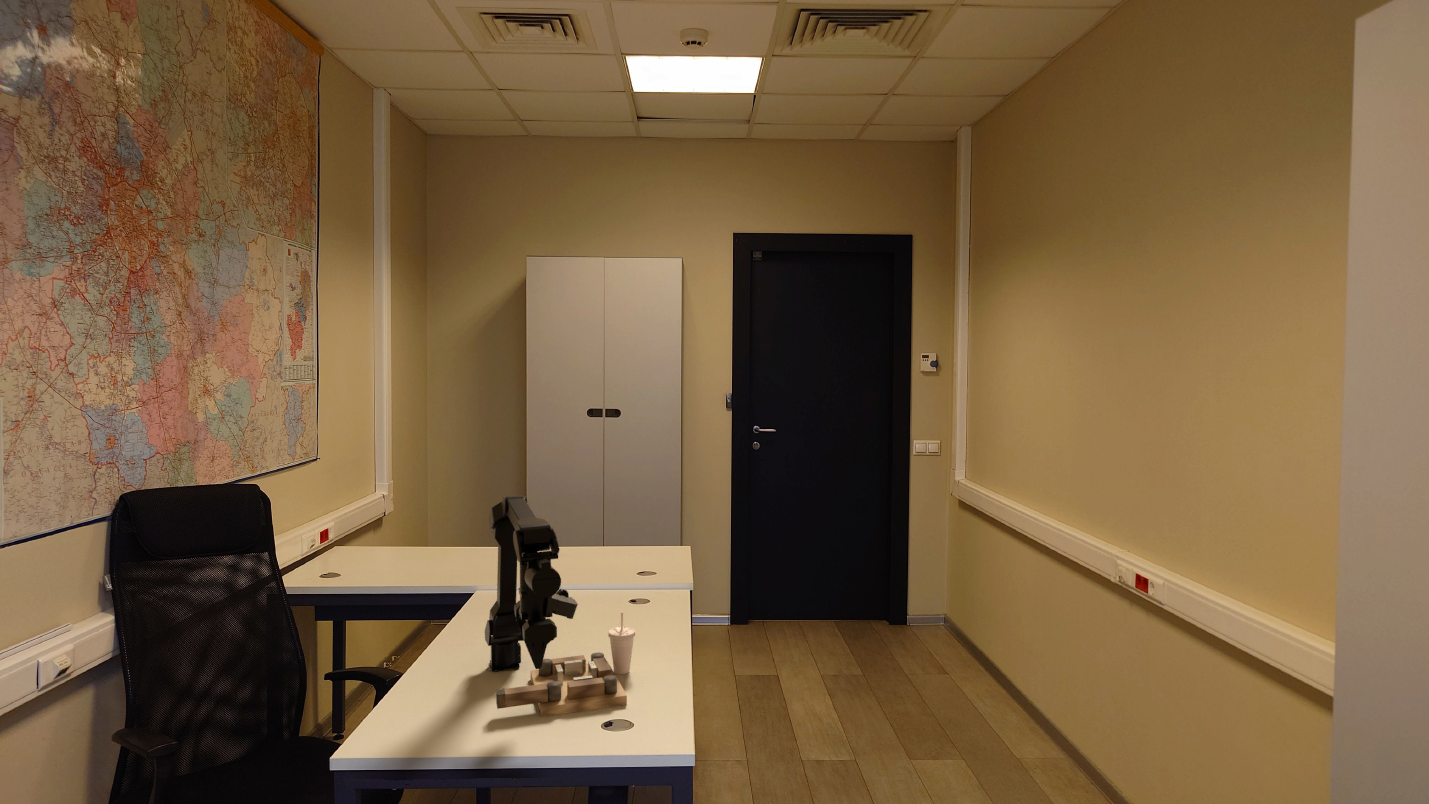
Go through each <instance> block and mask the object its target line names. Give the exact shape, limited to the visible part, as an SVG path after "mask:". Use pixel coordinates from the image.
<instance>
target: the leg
mask: <svg viewBox="0 0 1429 804" xmlns="http://www.w3.org/2000/svg"><path fill="white" fill-rule="evenodd" d="M495 693H496V696H495V697H496V699H495V700H496V701H495V702H496V707H497V710H499V709H505V708H506V709H507V708H512V707H513V708H514V707H521V706H527V705H528V706H529V705H534V704H538V703H543V702H548V700H549V701H557V700H560V699H561V682H558V681H553V682H549V683H547V685H546V684H538V685H532V684H531V685H525V686H517V687H510V688H497V689H496V691H495Z"/></svg>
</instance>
